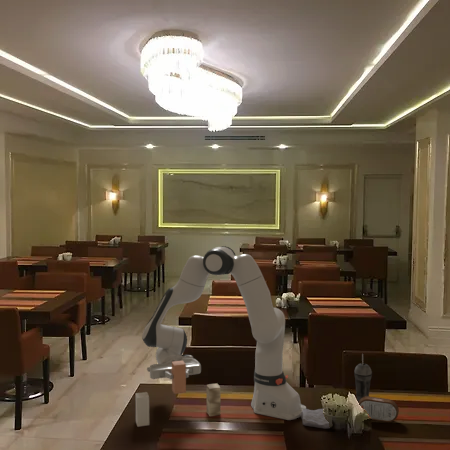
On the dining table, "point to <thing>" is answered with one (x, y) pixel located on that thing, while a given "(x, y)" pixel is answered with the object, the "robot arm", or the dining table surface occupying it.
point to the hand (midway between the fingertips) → (179, 376)
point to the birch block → (213, 399)
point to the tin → (380, 408)
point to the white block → (142, 409)
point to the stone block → (314, 418)
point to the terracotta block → (179, 377)
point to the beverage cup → (362, 379)
